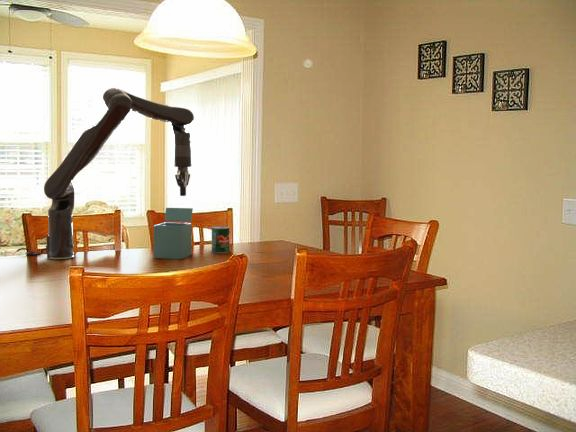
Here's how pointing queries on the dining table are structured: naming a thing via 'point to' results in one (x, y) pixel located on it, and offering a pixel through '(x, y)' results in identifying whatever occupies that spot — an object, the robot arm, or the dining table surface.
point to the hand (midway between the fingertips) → (183, 195)
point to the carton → (172, 240)
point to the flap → (178, 214)
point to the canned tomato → (220, 239)
